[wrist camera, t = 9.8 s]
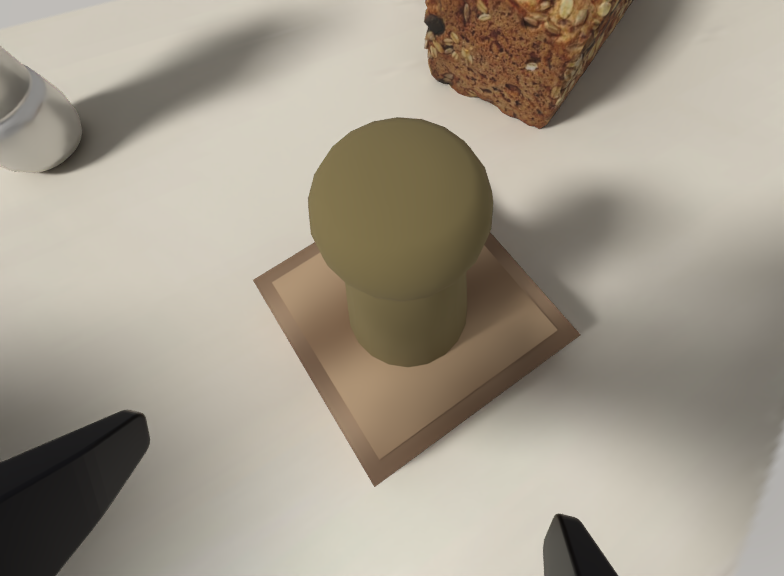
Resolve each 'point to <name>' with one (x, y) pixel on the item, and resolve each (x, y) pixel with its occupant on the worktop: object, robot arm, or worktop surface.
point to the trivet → (418, 383)
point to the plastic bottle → (33, 120)
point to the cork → (402, 233)
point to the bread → (517, 49)
